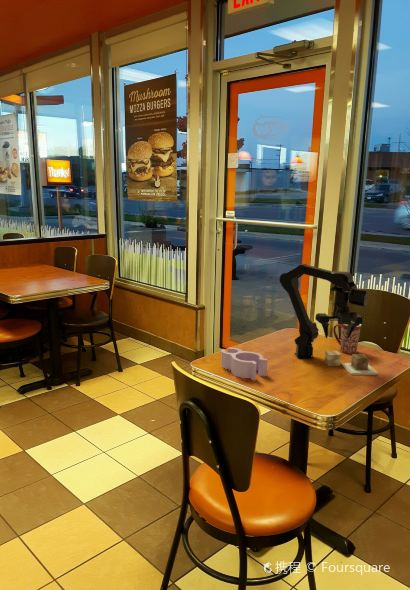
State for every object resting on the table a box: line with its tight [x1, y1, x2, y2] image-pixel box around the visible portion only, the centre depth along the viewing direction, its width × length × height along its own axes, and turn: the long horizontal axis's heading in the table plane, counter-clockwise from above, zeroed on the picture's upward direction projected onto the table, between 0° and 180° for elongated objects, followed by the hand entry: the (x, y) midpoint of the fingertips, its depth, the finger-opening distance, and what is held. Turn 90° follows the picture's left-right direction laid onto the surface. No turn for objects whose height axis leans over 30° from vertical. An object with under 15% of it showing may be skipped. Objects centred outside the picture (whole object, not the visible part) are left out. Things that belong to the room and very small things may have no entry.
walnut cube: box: [350, 353, 370, 370], centre depth 186 cm, size 5×5×5 cm
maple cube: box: [324, 350, 342, 367], centre depth 193 cm, size 5×5×5 cm
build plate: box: [340, 362, 379, 376], centre depth 187 cm, size 11×11×1 cm
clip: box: [220, 347, 268, 381], centre depth 182 cm, size 20×12×7 cm, turn 42°
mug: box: [332, 323, 362, 355], centre depth 209 cm, size 13×9×14 cm
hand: (337, 338), depth 190 cm, fingers open, 9 cm apart
